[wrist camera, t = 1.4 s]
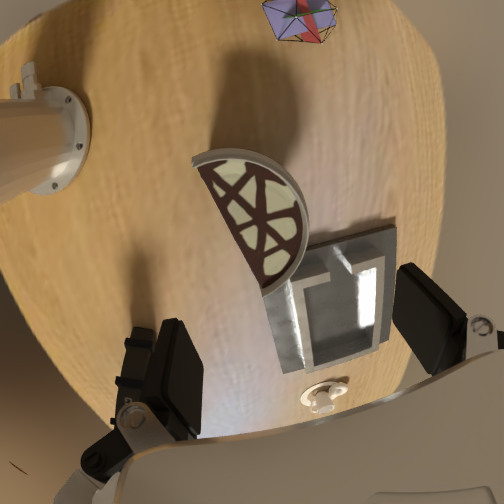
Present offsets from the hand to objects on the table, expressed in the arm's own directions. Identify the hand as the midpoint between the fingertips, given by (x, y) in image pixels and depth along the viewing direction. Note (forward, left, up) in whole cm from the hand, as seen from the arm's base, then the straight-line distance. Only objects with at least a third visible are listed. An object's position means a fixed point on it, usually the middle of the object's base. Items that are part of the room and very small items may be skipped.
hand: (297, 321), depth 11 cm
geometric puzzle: (-18, +9, -20) cm, 28 cm away
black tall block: (+19, -20, -20) cm, 34 cm away
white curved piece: (+40, +7, -20) cm, 45 cm away
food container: (-1, +1, -20) cm, 20 cm away
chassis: (+17, +8, -19) cm, 27 cm away
